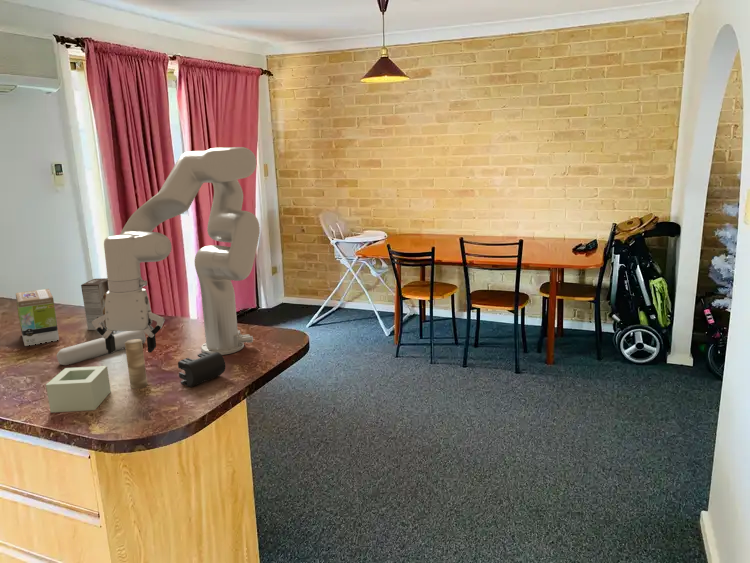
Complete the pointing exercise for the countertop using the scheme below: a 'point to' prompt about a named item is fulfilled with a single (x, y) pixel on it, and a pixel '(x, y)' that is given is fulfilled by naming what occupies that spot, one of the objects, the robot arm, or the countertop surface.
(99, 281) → the coffee box
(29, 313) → the tea box
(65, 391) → the socket block
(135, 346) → the peg
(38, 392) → the countertop surface
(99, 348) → the tube
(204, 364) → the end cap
